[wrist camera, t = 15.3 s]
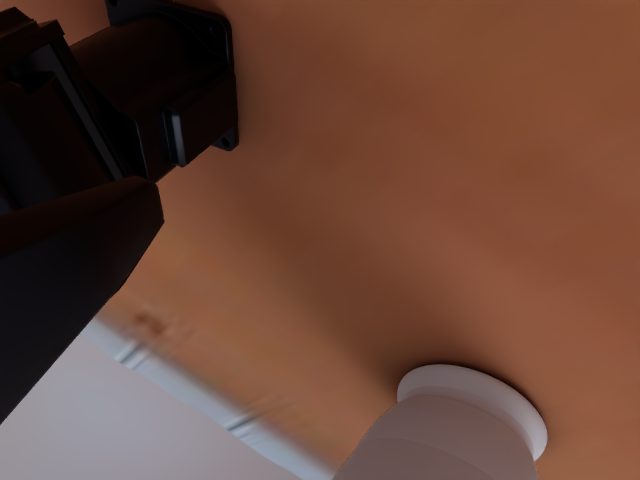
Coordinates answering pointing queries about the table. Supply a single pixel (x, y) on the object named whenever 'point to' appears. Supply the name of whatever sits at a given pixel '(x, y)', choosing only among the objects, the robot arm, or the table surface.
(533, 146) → the table surface
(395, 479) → the jar
